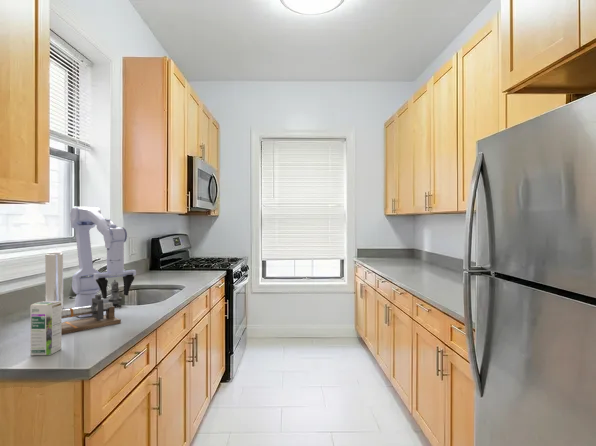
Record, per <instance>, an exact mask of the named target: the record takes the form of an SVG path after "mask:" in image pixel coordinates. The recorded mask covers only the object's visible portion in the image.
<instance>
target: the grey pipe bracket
mask: <svg viewBox="0 0 596 446" xmlns="http://www.w3.org/2000/svg"><path fill="white" fill-rule="evenodd" d="M97 304H98V313H92V316H91V317H94V318H96V319H98V320H101V319H104V315H105V314H104V312H105V311H104V308H103V304H104V299H103V298H102V294H98V293H97V295H95V298H92V305H97Z"/></svg>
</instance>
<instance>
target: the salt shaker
mask: <svg viewBox="0 0 596 446" xmlns="http://www.w3.org/2000/svg"><path fill="white" fill-rule="evenodd" d="M110 287H111V289H110V291H111V292H110V293H111V294H110V296H109V298H108V297H107V300H108V303H110V302H112V303H113V306H114V307H115V308H120V307H122V305H121V304H120V303H121V302H122V299H123V297H121V296H120V294H119V292H120V289H119V282H118V281H116V279H114V280H113V281H112V282H111V285H110Z"/></svg>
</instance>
